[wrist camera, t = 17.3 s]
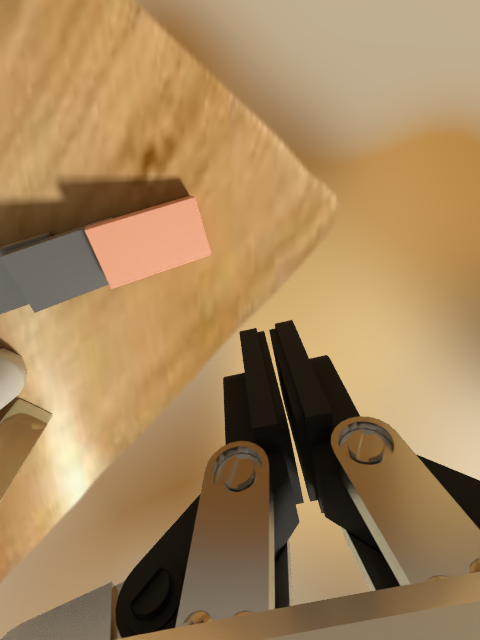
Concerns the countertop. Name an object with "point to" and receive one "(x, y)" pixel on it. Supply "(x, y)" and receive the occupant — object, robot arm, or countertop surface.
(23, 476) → the countertop surface
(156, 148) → the countertop surface
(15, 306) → the tile
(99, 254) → the head tile
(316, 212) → the countertop surface
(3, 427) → the skincare box
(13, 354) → the salt shaker
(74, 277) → the tile
